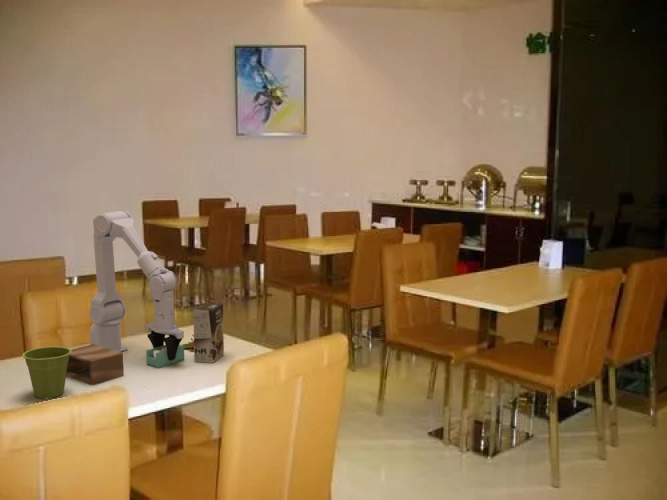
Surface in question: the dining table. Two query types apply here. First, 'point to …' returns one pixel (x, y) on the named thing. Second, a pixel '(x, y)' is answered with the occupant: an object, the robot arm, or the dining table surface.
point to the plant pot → (47, 370)
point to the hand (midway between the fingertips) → (165, 358)
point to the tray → (163, 356)
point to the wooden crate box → (95, 364)
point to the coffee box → (208, 332)
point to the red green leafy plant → (189, 345)
